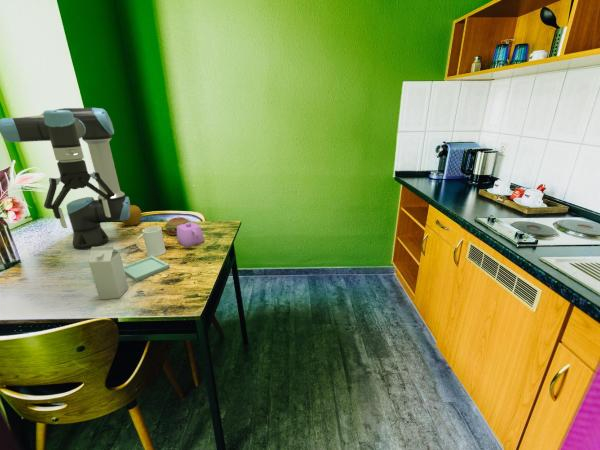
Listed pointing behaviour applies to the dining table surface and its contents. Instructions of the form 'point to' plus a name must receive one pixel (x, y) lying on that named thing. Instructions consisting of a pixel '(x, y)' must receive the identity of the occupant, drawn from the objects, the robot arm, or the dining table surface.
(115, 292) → the milk carton
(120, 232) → the dining table surface
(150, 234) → the mug
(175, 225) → the food
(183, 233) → the teapot
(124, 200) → the robot arm
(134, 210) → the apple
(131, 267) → the tray
